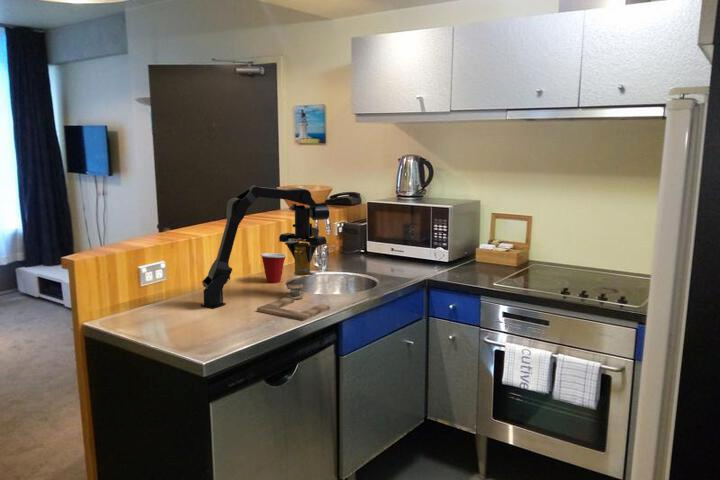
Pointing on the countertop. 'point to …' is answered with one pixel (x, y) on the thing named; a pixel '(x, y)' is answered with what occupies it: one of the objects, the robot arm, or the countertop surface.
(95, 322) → the countertop surface
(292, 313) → the brown frame
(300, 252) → the condiment
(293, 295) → the spool
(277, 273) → the plastic cup
